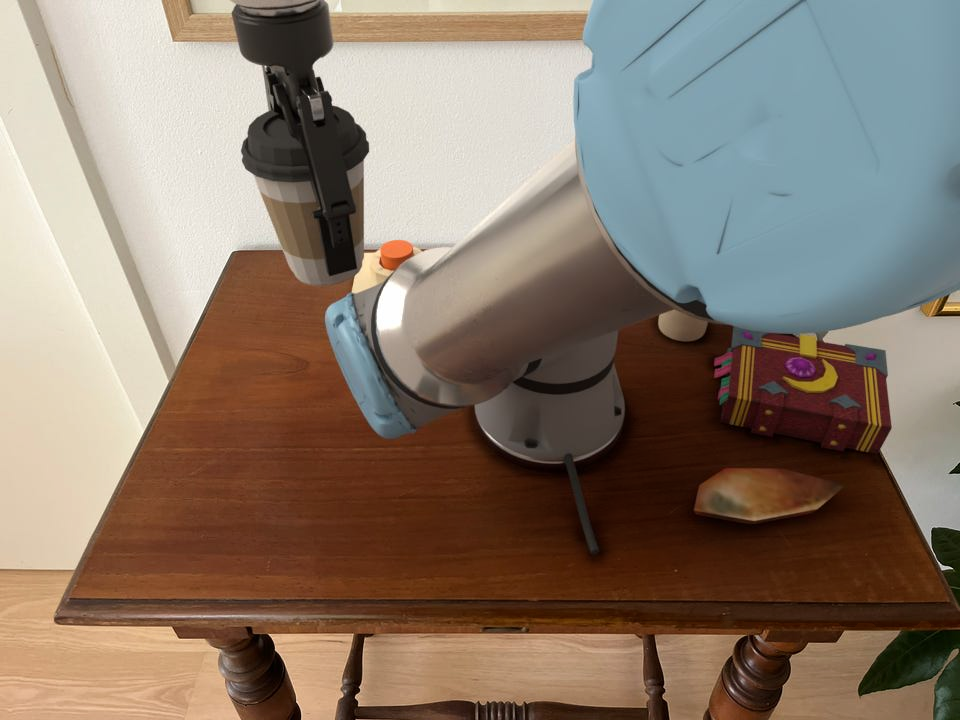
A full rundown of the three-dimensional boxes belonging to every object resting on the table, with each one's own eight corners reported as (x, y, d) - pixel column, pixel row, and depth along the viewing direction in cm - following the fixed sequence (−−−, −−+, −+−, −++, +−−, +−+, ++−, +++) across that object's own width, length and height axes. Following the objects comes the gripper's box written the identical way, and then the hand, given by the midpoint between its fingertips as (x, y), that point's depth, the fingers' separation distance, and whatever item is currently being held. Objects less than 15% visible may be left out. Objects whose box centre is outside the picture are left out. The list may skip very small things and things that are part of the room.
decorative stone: (864, 517, 62) (853, 542, 63) (842, 473, 66) (832, 498, 68) (697, 502, 62) (691, 527, 64) (687, 460, 67) (682, 484, 69)
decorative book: (878, 460, 70) (896, 425, 66) (706, 425, 74) (715, 390, 70) (870, 380, 78) (887, 345, 74) (715, 352, 82) (724, 318, 78)
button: (415, 253, 91) (413, 239, 90) (413, 271, 88) (412, 257, 87) (383, 253, 91) (381, 239, 90) (380, 272, 88) (378, 258, 87)
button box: (444, 265, 95) (443, 239, 93) (443, 306, 89) (441, 280, 86) (361, 266, 95) (357, 240, 93) (353, 308, 89) (349, 282, 86)
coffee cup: (390, 235, 77) (374, 97, 67) (376, 300, 69) (355, 153, 59) (285, 235, 78) (253, 98, 68) (258, 299, 69) (217, 154, 59)
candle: (693, 348, 82) (710, 276, 76) (649, 330, 85) (662, 258, 78) (713, 323, 86) (731, 252, 79) (670, 306, 88) (685, 236, 81)
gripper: (202, -29, 63) (257, 194, 78) (268, 57, 48) (321, 317, 62) (286, -40, 66) (324, 179, 80) (376, 38, 50) (402, 293, 65)
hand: (323, 239), depth 71 cm, fingers closed on coffee cup, 11 cm apart
